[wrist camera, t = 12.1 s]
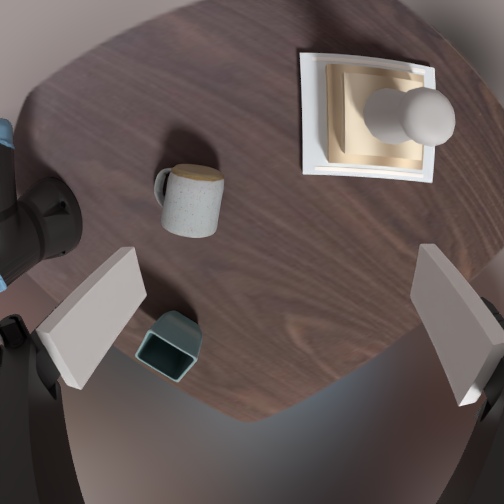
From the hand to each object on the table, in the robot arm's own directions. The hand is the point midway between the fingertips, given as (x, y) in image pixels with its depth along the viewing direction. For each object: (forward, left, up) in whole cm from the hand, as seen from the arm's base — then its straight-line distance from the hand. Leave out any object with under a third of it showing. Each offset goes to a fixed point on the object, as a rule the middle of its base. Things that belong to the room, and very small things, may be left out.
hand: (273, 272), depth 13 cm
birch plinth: (+7, +10, -28) cm, 31 cm away
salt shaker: (+7, +10, -21) cm, 24 cm away
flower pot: (-9, -33, -28) cm, 44 cm away
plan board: (+7, +10, -28) cm, 31 cm away
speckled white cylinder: (-12, -8, -28) cm, 32 cm away
